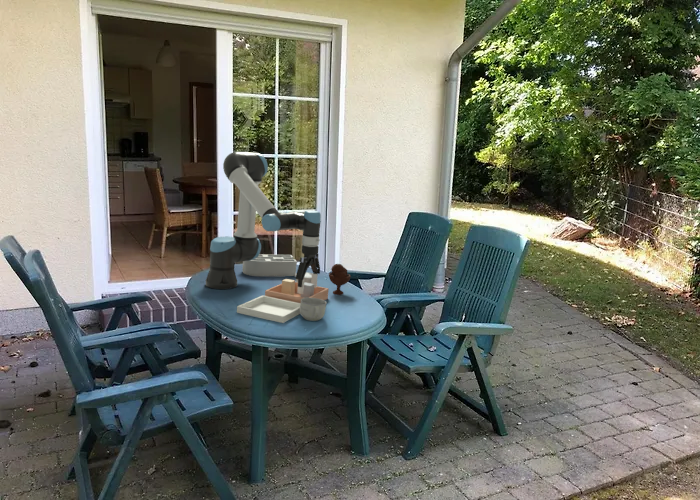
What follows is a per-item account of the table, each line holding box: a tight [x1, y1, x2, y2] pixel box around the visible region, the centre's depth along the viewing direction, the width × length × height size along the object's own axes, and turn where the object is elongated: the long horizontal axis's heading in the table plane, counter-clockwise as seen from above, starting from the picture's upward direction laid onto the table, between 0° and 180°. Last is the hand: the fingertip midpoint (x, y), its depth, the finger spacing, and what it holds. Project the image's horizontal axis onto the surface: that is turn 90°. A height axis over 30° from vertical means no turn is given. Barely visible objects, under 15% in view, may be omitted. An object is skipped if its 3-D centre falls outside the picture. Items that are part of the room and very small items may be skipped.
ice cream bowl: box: [328, 263, 352, 296], centre depth 266 cm, size 11×11×15 cm
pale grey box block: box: [300, 282, 315, 298], centre depth 248 cm, size 5×4×8 cm
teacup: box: [299, 298, 328, 322], centre depth 224 cm, size 14×11×8 cm
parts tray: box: [236, 295, 301, 324], centre depth 230 cm, size 22×20×3 cm
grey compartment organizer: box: [242, 253, 298, 278], centre depth 295 cm, size 17×28×9 cm, turn 107°
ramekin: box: [295, 271, 313, 283], centre depth 278 cm, size 11×11×5 cm
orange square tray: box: [264, 281, 330, 303], centre depth 250 cm, size 22×22×5 cm
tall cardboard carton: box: [281, 278, 296, 296], centre depth 252 cm, size 5×4×8 cm
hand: (307, 290), depth 248 cm, fingers open, 13 cm apart
